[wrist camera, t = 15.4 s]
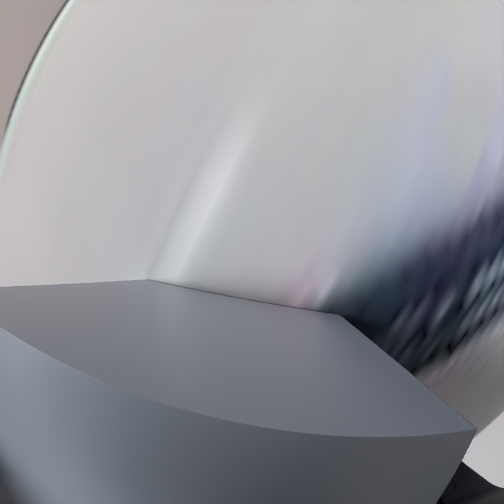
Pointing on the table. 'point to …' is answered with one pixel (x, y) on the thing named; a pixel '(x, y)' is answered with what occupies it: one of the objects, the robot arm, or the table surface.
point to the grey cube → (208, 403)
